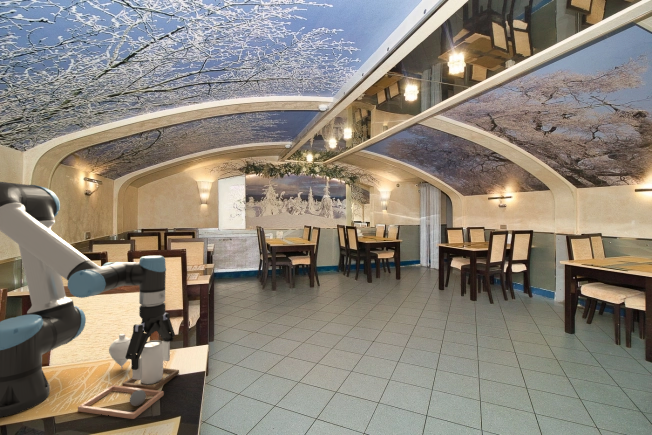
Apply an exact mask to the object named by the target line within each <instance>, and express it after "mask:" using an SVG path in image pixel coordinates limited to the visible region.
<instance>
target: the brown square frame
mask: <svg viewBox="0 0 652 435" xmlns="http://www.w3.org/2000/svg"><path fill="white" fill-rule="evenodd" d="M178 373H180V369H177V368H175V369H174V368H164V367H163V374H169V375H167V376H166V377H165V378H162V379H161V380H160V381H159V382H157V383H155V384H154V385H153V384H150V385H145V384H142V383H134V382H135V381H137V379H132V377H130V378H129V379H128V380H126V381H124V382H122V384H121V386H124V387H133V388H141V389H149V390H158V391H159V389H160V388H162V387H163V386H164V385H165V384H168V382H170V381H171V380H172V379H173V378H175V377H176V376H178V375H179V374H178Z"/></svg>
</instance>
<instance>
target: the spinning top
mask: <svg viewBox="0 0 652 435" xmlns="http://www.w3.org/2000/svg"><path fill="white" fill-rule="evenodd" d="M118 337H119V338H117V339H114V340H113V342H111V343H110V345H109V348H108V352H109V355H110V357H111V358H112V360H113V361H114V362H115V363H116V364H117V365H118V366H120V367H121V368H120V369H123V366H124V365H125V364H126V363H127V361H128V360H129V359H126V358H125V357H126V353H127V350H128V347H129V344H130V340H131V337H127V336H126V333H120V334H119V335H118ZM130 355H131V354H130Z"/></svg>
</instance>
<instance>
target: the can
mask: <svg viewBox="0 0 652 435" xmlns="http://www.w3.org/2000/svg"><path fill="white" fill-rule="evenodd" d="M162 341H163V340H157V339H154V340H150V341H149V340H147V342H146V344H145V347H144V349H143V351H142V353H141V356H140V357H142V379H140V384H144V385H153V384H154V385H155V384H158V383H159V382H161V381H162V380H163V379H164V373H163V368H164V361H163V345H162Z"/></svg>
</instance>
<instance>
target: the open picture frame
mask: <svg viewBox="0 0 652 435" xmlns="http://www.w3.org/2000/svg"><path fill="white" fill-rule="evenodd" d="M137 390H143V391H144V392H145V393H146V396H153V397H151V398H150V399H149V400H148V401H146V402H145V403H143V404H141V405H142V406H141V405H140V407H139V408H137V409H136V410H135V411H125V410H119V409H111V408H106V407H105V408H104V407H99V406H98V407H97V406H91V405H93V404H94V403H96V402H98V401H99V400H100V399H102V398H104V397H106V396H107V395H108V394H111V393H112V392H122V393H129V394H130V393H131V394H132V393H133V392H135V391H137ZM164 394H165V392H164V391H163V390H159V389H158V390H149V389H141V388H133V387H124V386H122V385H114V384H112V385H111V386H109V387H108V388H106V389H104V390H103V391H101V392H99V393H98V394H96V395H95V396H93V397H92V398H90V399H88V400H86V401H84V402H83V403H81V404H80V405H78V406H77V412H81V413H88V414H96V415H101V414H102V415H101V416H108V415H109V416H110V417H115V418H116V417H117V418H124V419H131V420H135V419H136V418H137V417H138V416H139V415H141V414H142V413H144V412H145V411H146V410H147V409H148V408H149V407H151V406H152V405H153V404H154V403H156V402H157V401H159V399H161V398H162V397H164ZM109 416H108V417H109Z"/></svg>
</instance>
